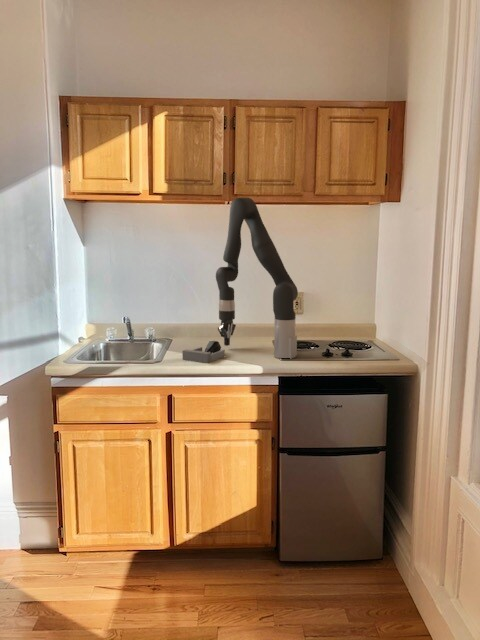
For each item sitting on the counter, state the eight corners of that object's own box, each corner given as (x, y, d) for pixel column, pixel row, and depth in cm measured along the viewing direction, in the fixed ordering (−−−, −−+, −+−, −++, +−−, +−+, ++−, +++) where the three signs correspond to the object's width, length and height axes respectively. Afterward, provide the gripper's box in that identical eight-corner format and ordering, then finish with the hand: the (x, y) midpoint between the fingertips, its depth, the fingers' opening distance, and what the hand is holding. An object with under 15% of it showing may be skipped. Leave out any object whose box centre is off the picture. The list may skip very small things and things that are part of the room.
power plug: (196, 355, 226) (209, 336, 233) (202, 367, 231) (215, 348, 238) (207, 357, 223) (219, 338, 230) (212, 369, 228) (225, 349, 235)
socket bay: (224, 356, 228) (224, 347, 228) (207, 363, 216) (207, 354, 216) (200, 353, 235) (200, 344, 234) (182, 359, 223) (182, 350, 222)
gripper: (226, 311, 232) (226, 348, 235) (240, 308, 243) (240, 343, 246) (212, 310, 235) (212, 347, 238) (227, 307, 247) (227, 341, 250)
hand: (227, 345), depth 242 cm, fingers closed
